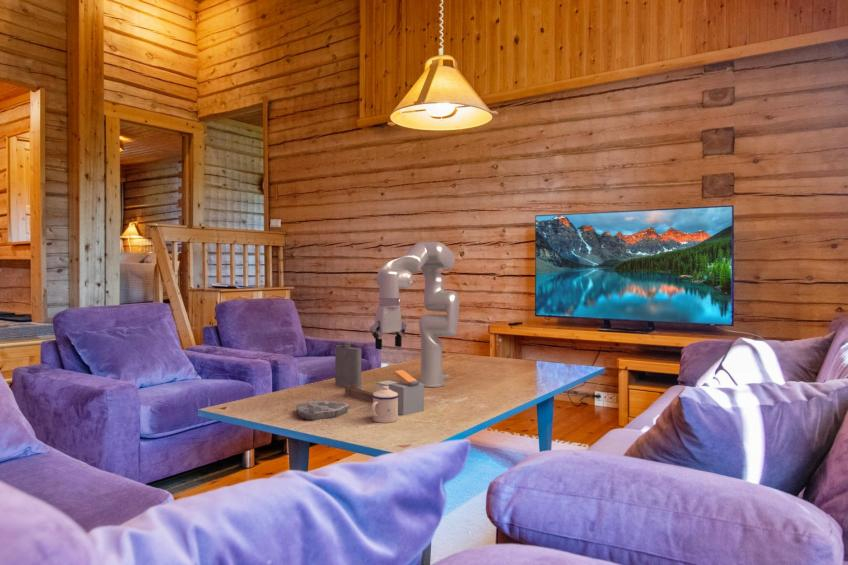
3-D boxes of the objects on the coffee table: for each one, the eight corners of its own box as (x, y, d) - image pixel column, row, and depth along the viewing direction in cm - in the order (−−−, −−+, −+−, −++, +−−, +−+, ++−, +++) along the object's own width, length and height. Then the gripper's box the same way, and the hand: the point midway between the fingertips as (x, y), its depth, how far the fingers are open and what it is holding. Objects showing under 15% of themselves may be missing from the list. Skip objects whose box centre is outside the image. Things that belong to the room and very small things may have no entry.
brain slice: (324, 406, 225) (324, 398, 225) (356, 413, 215) (356, 405, 215) (282, 416, 210) (282, 407, 210) (314, 424, 200) (314, 416, 199)
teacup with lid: (382, 415, 212) (382, 382, 211) (403, 418, 207) (403, 385, 206) (361, 422, 202) (361, 388, 201) (383, 426, 197) (383, 391, 196)
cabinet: (408, 406, 224) (408, 380, 224) (423, 410, 218) (423, 383, 218) (388, 411, 218) (388, 384, 217) (403, 415, 212) (403, 387, 211)
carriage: (388, 400, 230) (388, 380, 229) (398, 403, 225) (399, 382, 225) (376, 403, 226) (376, 382, 225) (387, 405, 221) (387, 384, 221)
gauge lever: (402, 373, 223) (403, 369, 222) (418, 385, 216) (419, 381, 216) (393, 374, 220) (394, 370, 219) (409, 387, 213) (411, 383, 213)
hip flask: (362, 389, 255) (362, 342, 254) (355, 390, 252) (355, 343, 251) (339, 383, 266) (339, 339, 265) (332, 384, 263) (332, 340, 262)
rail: (354, 394, 244) (354, 383, 244) (403, 407, 223) (403, 395, 223) (344, 396, 241) (344, 385, 241) (393, 409, 219) (393, 397, 219)
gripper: (399, 301, 233) (399, 344, 233) (364, 303, 221) (364, 348, 221) (412, 302, 227) (412, 346, 228) (377, 304, 215) (377, 351, 216)
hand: (388, 347), depth 225 cm, fingers open, 9 cm apart
